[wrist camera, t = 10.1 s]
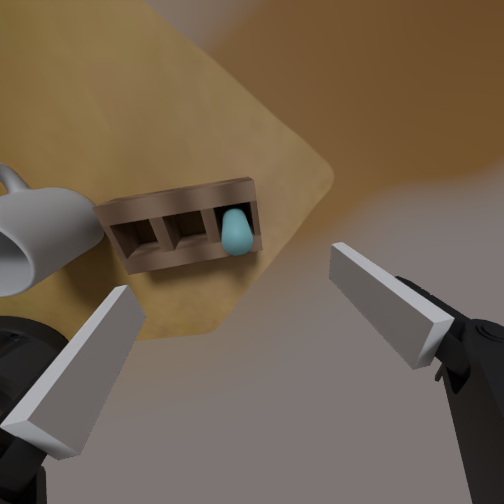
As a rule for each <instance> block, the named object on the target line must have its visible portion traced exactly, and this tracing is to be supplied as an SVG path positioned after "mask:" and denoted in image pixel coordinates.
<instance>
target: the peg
mask: <svg viewBox="0 0 504 504" xmlns="http://www.w3.org/2000/svg"><path fill="white" fill-rule="evenodd" d="M222 245H223V248H224V249H225V250H226V251H227V252H228V253H230V254H232V255H243V254H245V253H247V252H248V251H249V250H250V249H251V247H252V245H253V236H252V233H251V230H250V227H249V225H248V222H247V219H246V216H245V213H244V210H243V208H242V206H241V205H240V204H239V203H238V204H232V205H226V206H225V207H224V209H223V228H222Z"/></svg>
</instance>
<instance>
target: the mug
mask: <svg viewBox="0 0 504 504" xmlns="http://www.w3.org/2000/svg"><path fill="white" fill-rule="evenodd" d="M0 181H1V182H2V183H3V185H4V186H5V188H6V190H7V195H4V196H0V297H7V296H13V295H17V294H20V293H22V292H24V291H26V290H28V289H30V288H31V287H33V286H35V285H36V284H38V283H39V282H41V281H42V280H44V279H45V278H47V277H48V276H50V275H51V274H53V273H54V272H56V271H57V270H59V269H60V268H62V267H63V266H65V265H66V264H68V263H69V262H71V261H72V260H74V259H75V258H77V257H78V256H80V255H81V254H83V253H84V252H86V251H88V250H89V249H91V248H93V247H94V246H95V245H97V244H98V243H99V242H100V241H101V240H102V238H103V237H104V234H105V231H104V229H103V227H102V225H101V223H100V221H99V220H98V218H97V216H96V214H95V212H94V211H93V209H92V207H94V206H95V205H94V204H93V203H92V202H91V201H90V200H88V199H87V198H86V197H84V196H83V195H81V194H79V193H77V192H74V191H72V190H69V189H64V188H57V187H52V188H43V189H38V190H32V189H31V188H30V187H29V186H28V185H27V184H26V182H25V181H24V180H23V179H22V178H21V177H20V176H19V175H18V174H17V173H16V172H15V171H14V170H13V169H12V168H10V167H9V166H7V165H5V164H3V163H1V162H0Z"/></svg>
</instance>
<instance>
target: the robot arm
mask: <svg viewBox="0 0 504 504" xmlns="http://www.w3.org/2000/svg"><path fill="white" fill-rule="evenodd" d="M329 278H330V280H331V281H332V282H333V283H334V284H335V285H336V286H337V287H338V288H339V289H340V290H341V292H342V293H343V294H344V295H345V296H346V297H347V298H348V299H349V300H350V301H351V303H352V304H353V305H354V306H355V307H356V308H357V309H358V310H359V311H360V312H361V313H362V315H363V316H364V317H365V318H366V319H367V320H368V321H369V322H370V323H371V324H372V326H373V327H374V328H375V329H376V330H377V331H378V332H379V333H380V334H381V335H382V336H383V338H384V339H385V340H386V341H387V342H388V343H389V344H390V345H391V346H392V347H393V349H395V351H396V352H397V353H398V354H399V355H400V356H401V357H402V358H403V359H404V361H406V363H407V364H408V365H409V366H410V367H411V368H412V369H413V370H414V369H418V368H421V367H426V366H429V365H430V364H431V362H432V360H433V358H434V357H436V358H438V359H439V360H440V361H441V362H442V364H441V366H440V368H439V370H438V371H437V373H436V375H435V381H438V382H439V380H440V378H441V376H443V381H444V385H445V389H446V393H447V397H448V402H449V406H450V410H451V415H452V418H453V423H454V427H455V432H456V436H457V440H458V444H459V448H460V453H461V457H462V461H463V465H464V469H465V474H466V478H467V482H468V487H469V490H470V495H471V499H472V503H473V504H504V327H503V326H501V325H499V324H497V323H493V322H490V321H487V320H481V319H469V318H467V317H466V316H464V315H463V314H461V313H460V312H458V311H457V310H455V309H453V308H452V307H450V306H449V305H447V304H446V303H444V302H442V301H441V300H439V299H438V298H436V297H435V296H433V295H430V293H428V292H427V291H425V290H424V289H421V287H419V286H418V285H416V284H414V283H413V282H411V281H409V280H407V279H404V278H401V277H399V276H396V277H393V276H392V275H390V274H389V273H387V272H386V271H384V270H383V269H381V268H380V267H378V266H377V265H375V264H374V263H372V262H371V261H369V260H368V259H367V258H365V257H364V256H362V255H360V254H359V253H358V252H356V251H354V250H353V249H352V248H350V247H349V246H347V245H346V244H344V243H343V242H341V243H336V244H332V245H331V259H330V274H329ZM145 318H146V315H145V314H144V312H143V310H142V308H141V307H140V305H139V303H138V301H137V299H136V298H135V296H134V294H133V292H132V291H131V289H130V287H129V285H124V286H119V287H115V288H114V289H113V290H112V292H111V293H110V294H109V295H108V296H107V298H106V299H105V300H104V301H103V302H102V304H101V305H100V306H99V307H98V308H97V310H96V311H95V312H94V313H93V314H92V316H91V317H90V318H89V319H88V320H87V322H86V323H85V324H84V325H83V326H82V328H81V329H80V330H79V331H78V332H77V334H76V335H75V336H74V337H73V338H72V340H71V341H70V342H69V343H68V342H67V341H66V339H65V338H64V337H63V336H62V335H60V334H59V333H58V332H56V331H55V330H53V329H52V328H50V327H48V326H46V325H43V324H41V323H38V322H35V321H32V320H29V319H24V318H19V317H11V316H0V504H47V495H46V472H45V469H44V467H43V466H41V464H42V462H43V460H44V459H45V457H46V456H47V454H48V455H50V456H52V457H53V458H55V459H57V460H61V459H65V458H69V457H73V456H77V455H80V454H81V452H82V450H83V448H84V446H85V444H86V442H87V440H88V438H89V435H90V433H91V431H92V429H93V427H94V425H95V423H96V421H97V419H98V417H99V415H100V412H101V410H102V408H103V406H104V404H105V402H106V400H107V398H108V395H109V394H110V392H111V389H112V387H113V385H114V383H115V381H116V379H117V377H118V375H119V373H120V371H121V368H122V366H123V364H124V362H125V360H126V358H127V356H128V354H129V352H130V350H131V348H132V345H133V343H134V341H135V339H136V337H137V335H138V333H139V331H140V329H141V327H142V325H143V323H144V320H145Z"/></svg>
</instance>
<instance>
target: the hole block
mask: <svg viewBox="0 0 504 504" xmlns="http://www.w3.org/2000/svg"><path fill="white" fill-rule="evenodd" d="M244 202H247V204H248V211H249V217H250V224H248V225H249V227H250V230H251V233H252V236H253V245H252V247H251V249H250V250H249V251H248V252H247V253H249V252H255V251H260V250H263V249H262V241H261V233H260V225H259V217H258V210H257V202H256V194H255V186H254V180H252V179H251V178H250V177H244V178H238V179H232V180H226V181H220V182H214V183H208V184H202V185H195V186H189V187H183V188H177V189H171V190H165V191H159V192H153V193H147V194H141V195H135V196H129V197H122V198H116V199H113V200H111V201H108V202H105V203H102V204H100V205H97V206H94V207H92V209H93V211H94V212H95V214H96V216H97V218H98V220H99V221H100V223H101V225H102V227H103V229H104V231H105V232H106V234H107V236H108V238H109V240H110V241H111V243H112V245H113V247H114V249H115V251H116V252H117V254H118V256H119V258H120V260H121V261H122V263H123V265H124V267H125V269H126V271H127V272H128V274H129V275H131V274H136V273H141V272H147V271H152V270H158V269H163V268H168V267H174V266H179V265H185V264H190V263H195V262H201V261H206V260H212V259H217V258H222V257H228V256H233V255H232V254H230V253H228V252H227V251H226V250H225V249H224V248H223V245H222V228H221V224H220V220H219V215H218V211H217V207H221V206H226V205H232V204H238V203H244ZM197 210H200V211H201V215H202V219H203V222H204V226H205V230H206V232H202V233H197V234H191V235H185V236H182V233H181V230H180V227H179V224H178V221H177V218H176V215H175V214H180V213H185V212H191V211H197ZM145 219H149V221H150V223H151V226H152V228H153V231H154V233H155V235H156V238H157V241H152V242H146V243H142V241H141V238H140V236H139V234H138V232H137V230H136V228H135V225H134V223H133V221H139V220H145Z"/></svg>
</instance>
